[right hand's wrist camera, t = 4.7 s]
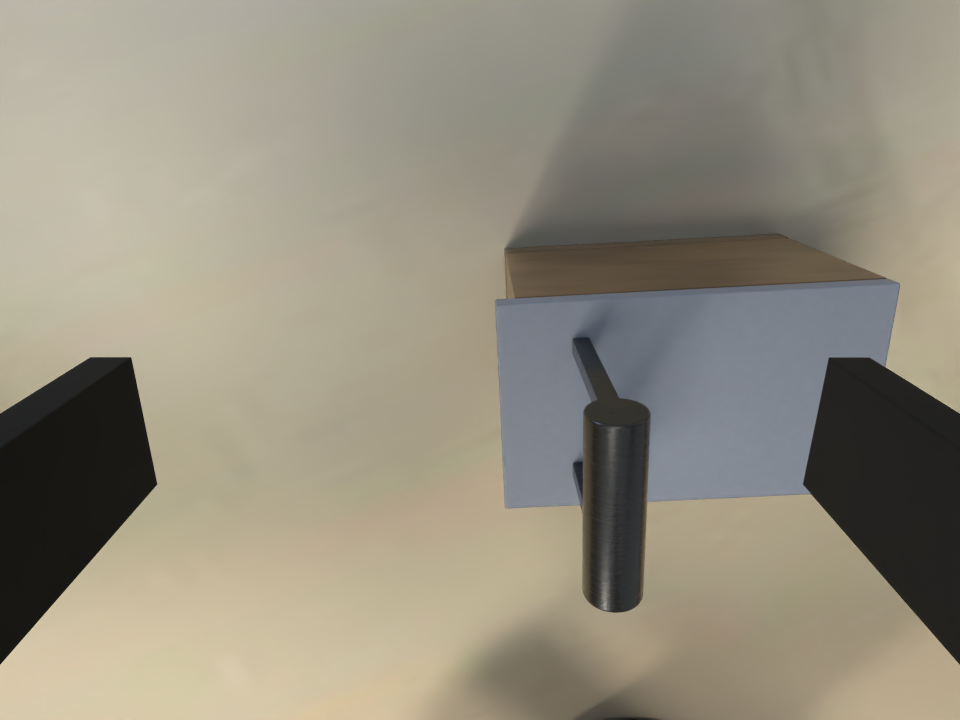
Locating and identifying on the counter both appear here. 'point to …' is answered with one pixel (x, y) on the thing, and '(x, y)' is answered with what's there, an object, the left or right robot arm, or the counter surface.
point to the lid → (669, 402)
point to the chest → (670, 266)
